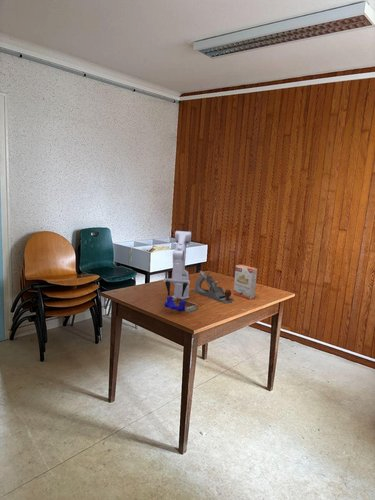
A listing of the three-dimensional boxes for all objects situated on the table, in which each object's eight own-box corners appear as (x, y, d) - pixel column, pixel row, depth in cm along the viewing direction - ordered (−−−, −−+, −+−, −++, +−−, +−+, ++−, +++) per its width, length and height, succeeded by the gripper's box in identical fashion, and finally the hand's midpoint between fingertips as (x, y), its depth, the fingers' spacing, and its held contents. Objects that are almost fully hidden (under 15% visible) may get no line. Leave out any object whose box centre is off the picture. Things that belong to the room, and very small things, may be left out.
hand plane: (226, 304, 232) (228, 281, 230) (190, 291, 256) (191, 270, 254) (235, 302, 238) (237, 279, 236) (199, 289, 262) (201, 269, 260)
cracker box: (232, 294, 254) (235, 265, 250) (238, 293, 258) (240, 264, 255) (249, 299, 244) (252, 269, 241) (254, 298, 248) (257, 268, 245)
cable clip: (164, 307, 219) (165, 297, 218) (169, 305, 222) (170, 296, 221) (179, 312, 211) (180, 302, 210) (184, 310, 214) (185, 301, 213)
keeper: (176, 301, 230) (177, 297, 229) (197, 309, 218) (198, 304, 217) (166, 304, 223) (166, 299, 223) (186, 312, 211) (187, 307, 211)
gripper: (163, 270, 202) (161, 295, 202) (190, 273, 201) (188, 297, 201) (165, 270, 209) (163, 294, 209) (190, 272, 208) (188, 296, 208)
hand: (175, 295), depth 206 cm, fingers open, 7 cm apart
